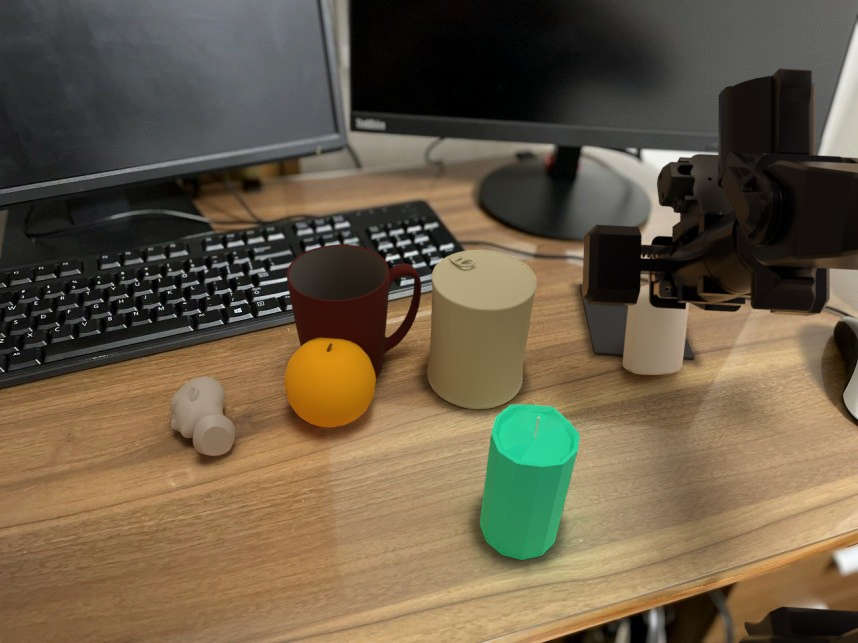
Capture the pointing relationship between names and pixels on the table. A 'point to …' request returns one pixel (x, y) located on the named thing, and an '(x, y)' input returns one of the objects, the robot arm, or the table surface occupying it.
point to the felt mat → (612, 329)
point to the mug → (348, 298)
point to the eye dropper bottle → (654, 337)
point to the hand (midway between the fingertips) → (667, 286)
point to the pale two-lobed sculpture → (203, 416)
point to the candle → (527, 479)
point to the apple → (329, 382)
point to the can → (479, 327)
